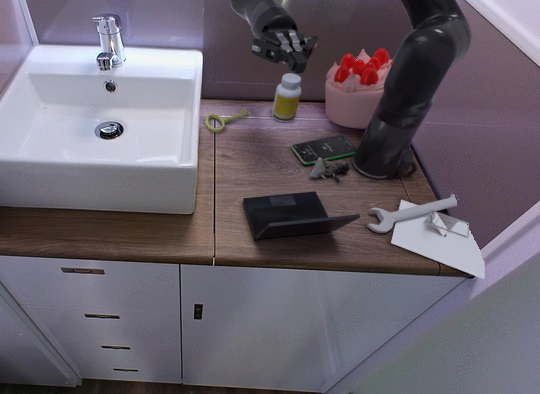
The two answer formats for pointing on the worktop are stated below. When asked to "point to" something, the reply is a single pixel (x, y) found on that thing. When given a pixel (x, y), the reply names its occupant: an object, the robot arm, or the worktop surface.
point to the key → (223, 120)
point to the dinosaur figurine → (329, 168)
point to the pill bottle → (287, 98)
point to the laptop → (282, 210)
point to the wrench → (408, 213)
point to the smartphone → (323, 149)
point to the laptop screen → (305, 226)
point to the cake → (356, 88)
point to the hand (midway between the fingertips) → (300, 68)
